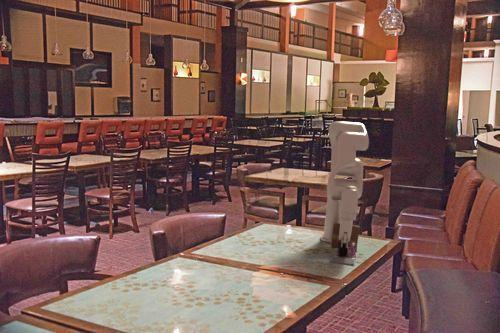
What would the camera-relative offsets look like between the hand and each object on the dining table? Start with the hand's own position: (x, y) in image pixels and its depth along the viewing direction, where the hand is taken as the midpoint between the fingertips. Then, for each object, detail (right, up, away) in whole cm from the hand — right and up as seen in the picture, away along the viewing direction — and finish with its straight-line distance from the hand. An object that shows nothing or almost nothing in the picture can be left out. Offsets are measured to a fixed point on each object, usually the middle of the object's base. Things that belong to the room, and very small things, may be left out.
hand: (343, 253), depth 234 cm
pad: (-2, -2, -8) cm, 9 cm away
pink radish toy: (+1, -1, 0) cm, 1 cm away
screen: (+2, 0, +11) cm, 12 cm away
